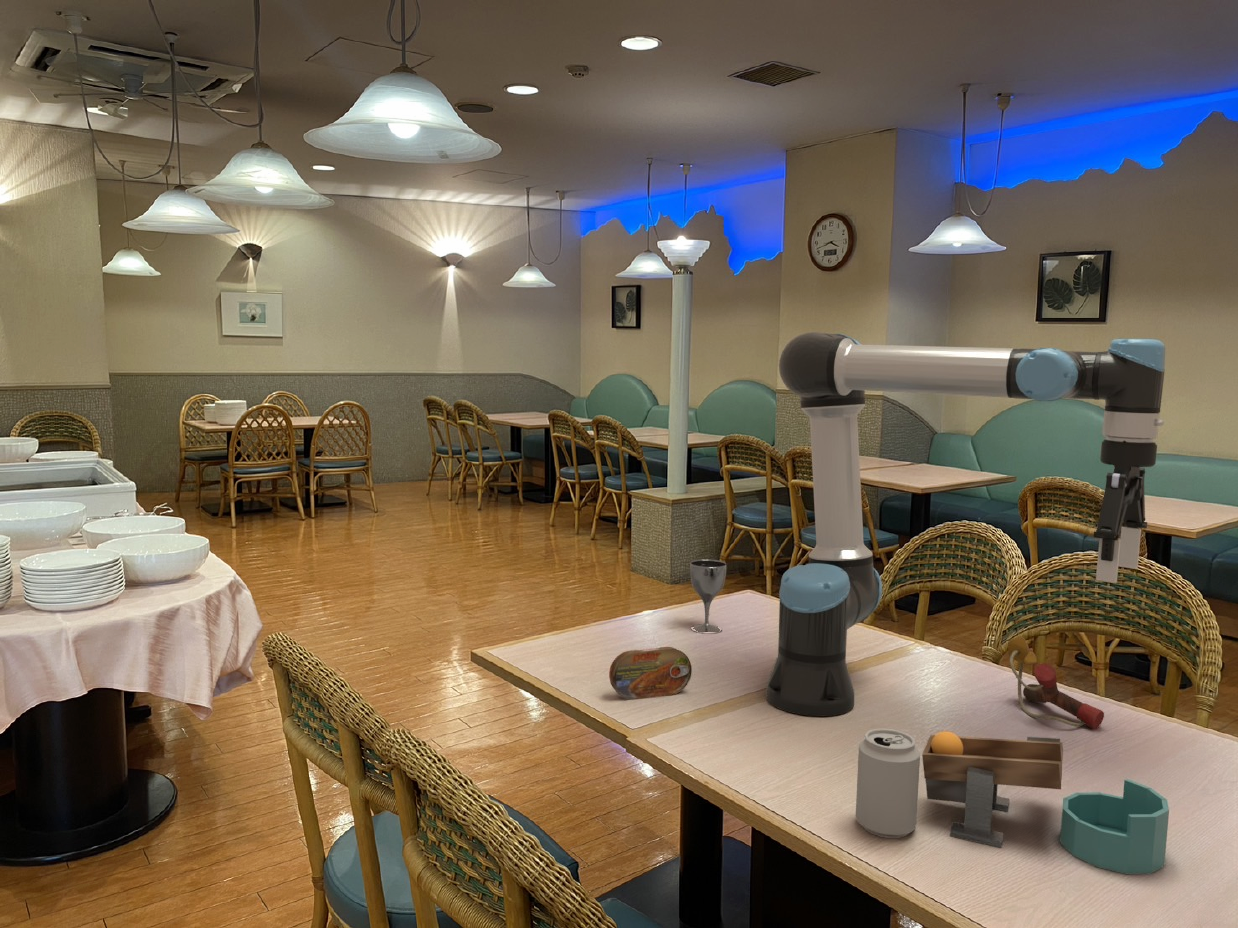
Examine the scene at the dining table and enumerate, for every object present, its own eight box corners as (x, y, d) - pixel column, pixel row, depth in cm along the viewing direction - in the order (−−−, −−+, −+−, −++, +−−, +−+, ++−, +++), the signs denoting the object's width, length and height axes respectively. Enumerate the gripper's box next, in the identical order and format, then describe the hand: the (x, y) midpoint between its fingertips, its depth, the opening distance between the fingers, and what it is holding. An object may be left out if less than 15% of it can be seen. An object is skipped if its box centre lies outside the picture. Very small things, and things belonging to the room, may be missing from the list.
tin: (612, 702, 158) (613, 655, 157) (606, 696, 161) (607, 649, 160) (692, 693, 163) (693, 647, 162) (685, 687, 166) (686, 642, 165)
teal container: (1059, 858, 110) (1063, 802, 109) (1061, 817, 120) (1064, 766, 119) (1167, 883, 105) (1172, 825, 104) (1159, 838, 115) (1164, 785, 114)
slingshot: (1073, 697, 164) (1125, 702, 149) (1040, 742, 162) (1089, 751, 147) (1002, 634, 165) (1046, 633, 151) (968, 677, 163) (1010, 680, 149)
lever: (926, 801, 118) (922, 754, 118) (940, 762, 130) (936, 719, 130) (1063, 813, 111) (1058, 763, 111) (1064, 771, 123) (1060, 726, 122)
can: (847, 812, 120) (851, 725, 119) (902, 811, 121) (906, 724, 120) (867, 842, 113) (871, 749, 111) (925, 840, 113) (931, 748, 112)
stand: (950, 835, 115) (954, 771, 114) (962, 794, 126) (965, 735, 125) (1001, 847, 112) (1005, 781, 111) (1008, 804, 123) (1012, 743, 122)
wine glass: (687, 633, 200) (688, 565, 198) (690, 623, 208) (691, 558, 206) (723, 635, 199) (725, 567, 197) (725, 625, 206) (727, 560, 205)
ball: (931, 767, 119) (926, 737, 119) (935, 755, 123) (931, 726, 123) (963, 768, 117) (958, 737, 117) (967, 756, 121) (962, 727, 121)
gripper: (1138, 446, 129) (1124, 592, 131) (1173, 437, 148) (1161, 565, 150) (1080, 441, 134) (1069, 582, 136) (1122, 434, 153) (1111, 558, 155)
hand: (1117, 574), depth 143 cm, fingers open, 13 cm apart
